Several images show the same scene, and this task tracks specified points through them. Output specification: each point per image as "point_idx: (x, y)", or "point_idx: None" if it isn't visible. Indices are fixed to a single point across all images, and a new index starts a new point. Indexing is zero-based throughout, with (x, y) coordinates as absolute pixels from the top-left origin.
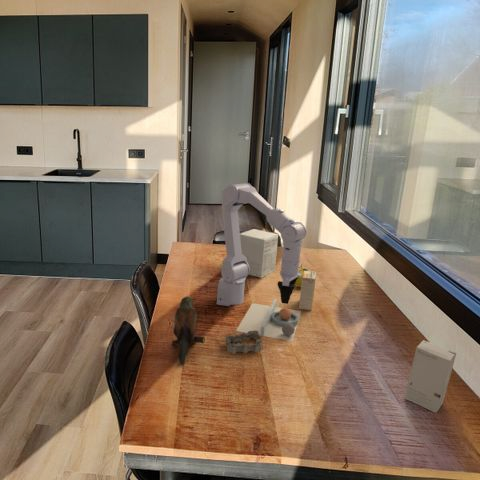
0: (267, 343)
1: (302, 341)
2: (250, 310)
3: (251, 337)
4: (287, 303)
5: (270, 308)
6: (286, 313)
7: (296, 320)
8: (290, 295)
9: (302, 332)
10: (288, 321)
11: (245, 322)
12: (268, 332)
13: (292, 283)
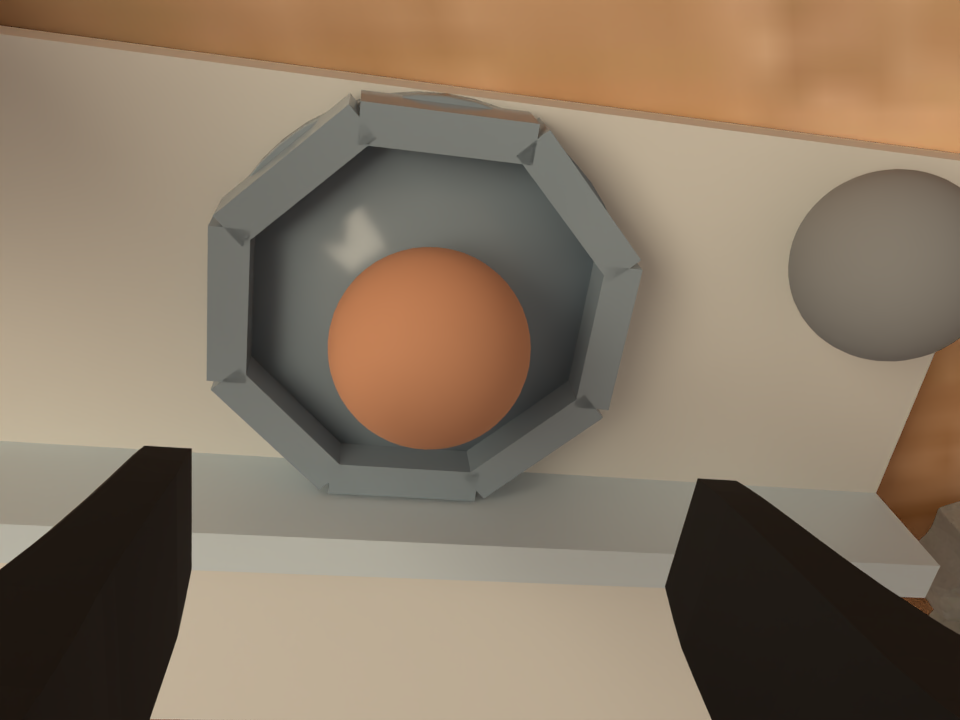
0: (952, 423)
1: (913, 9)
2: (243, 699)
3: (928, 595)
4: (748, 493)
5: (335, 570)
6: (522, 350)
7: (512, 138)
8: (854, 593)
9: (643, 3)
10: (483, 250)
11: (581, 689)
12: (789, 456)
13: (80, 708)
